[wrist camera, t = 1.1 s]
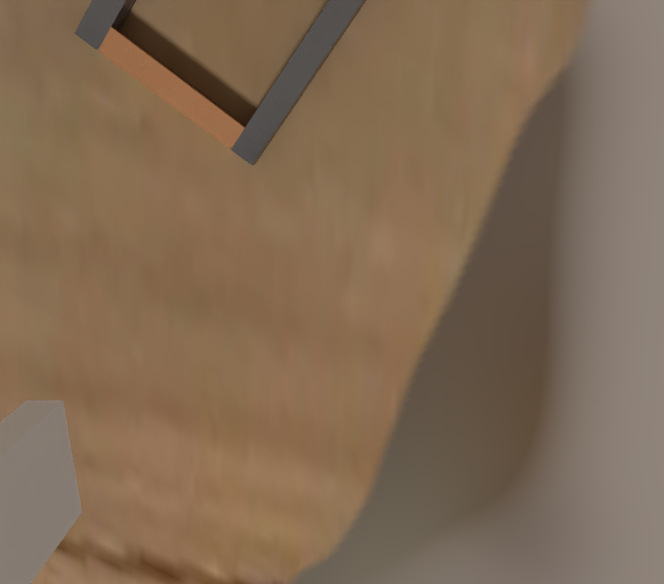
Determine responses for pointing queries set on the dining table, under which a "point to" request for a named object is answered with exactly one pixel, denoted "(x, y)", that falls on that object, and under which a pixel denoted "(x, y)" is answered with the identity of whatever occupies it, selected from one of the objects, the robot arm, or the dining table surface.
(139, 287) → the dining table surface
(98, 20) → the open rectangular frame
